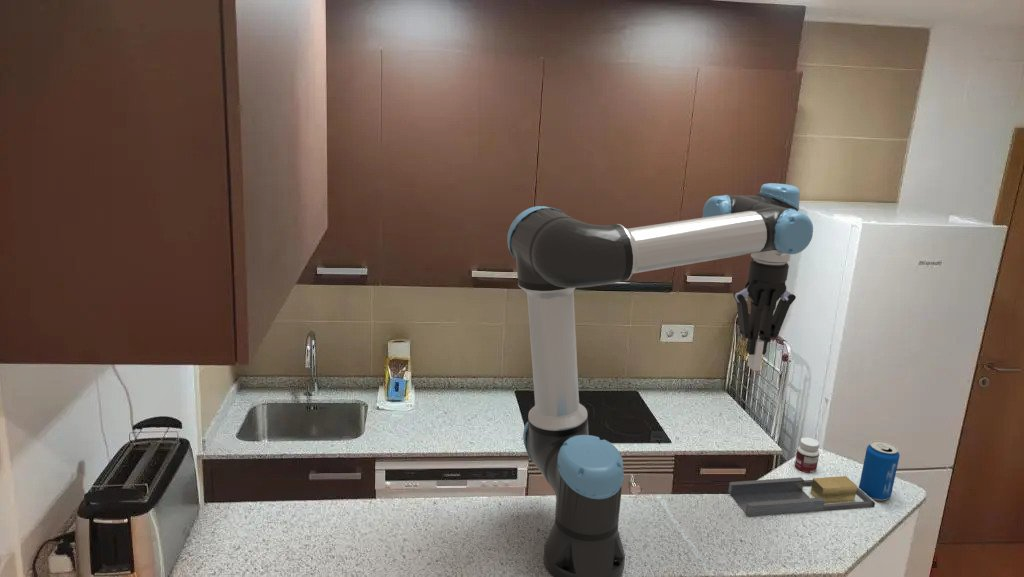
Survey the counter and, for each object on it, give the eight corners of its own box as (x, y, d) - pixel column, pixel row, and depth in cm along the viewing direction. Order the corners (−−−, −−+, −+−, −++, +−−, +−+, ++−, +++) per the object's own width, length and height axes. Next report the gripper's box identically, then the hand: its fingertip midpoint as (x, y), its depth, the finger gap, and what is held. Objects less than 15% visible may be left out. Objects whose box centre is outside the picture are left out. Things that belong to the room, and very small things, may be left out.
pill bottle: (791, 467, 169) (796, 435, 166) (812, 469, 168) (817, 437, 166) (796, 477, 164) (801, 445, 162) (817, 480, 164) (823, 447, 161)
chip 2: (837, 505, 153) (840, 487, 151) (826, 495, 156) (829, 477, 155) (853, 504, 153) (857, 486, 152) (842, 493, 157) (846, 476, 156)
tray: (821, 517, 150) (823, 506, 149) (796, 490, 159) (797, 480, 158) (872, 513, 152) (875, 502, 151) (844, 487, 161) (846, 477, 160)
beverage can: (872, 504, 155) (882, 455, 151) (851, 488, 161) (861, 440, 157) (897, 500, 156) (907, 452, 153) (875, 484, 162) (885, 437, 159)
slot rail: (747, 522, 147) (749, 506, 145) (727, 498, 155) (729, 482, 154) (821, 517, 150) (824, 500, 148) (798, 493, 158) (801, 477, 157)
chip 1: (820, 507, 152) (823, 488, 151) (809, 496, 156) (812, 478, 154) (837, 505, 153) (840, 487, 151) (826, 495, 156) (829, 477, 155)
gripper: (748, 265, 140) (732, 375, 146) (809, 265, 142) (791, 374, 148) (731, 255, 147) (717, 361, 153) (790, 256, 149) (773, 360, 155)
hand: (753, 367), depth 151 cm, fingers closed
